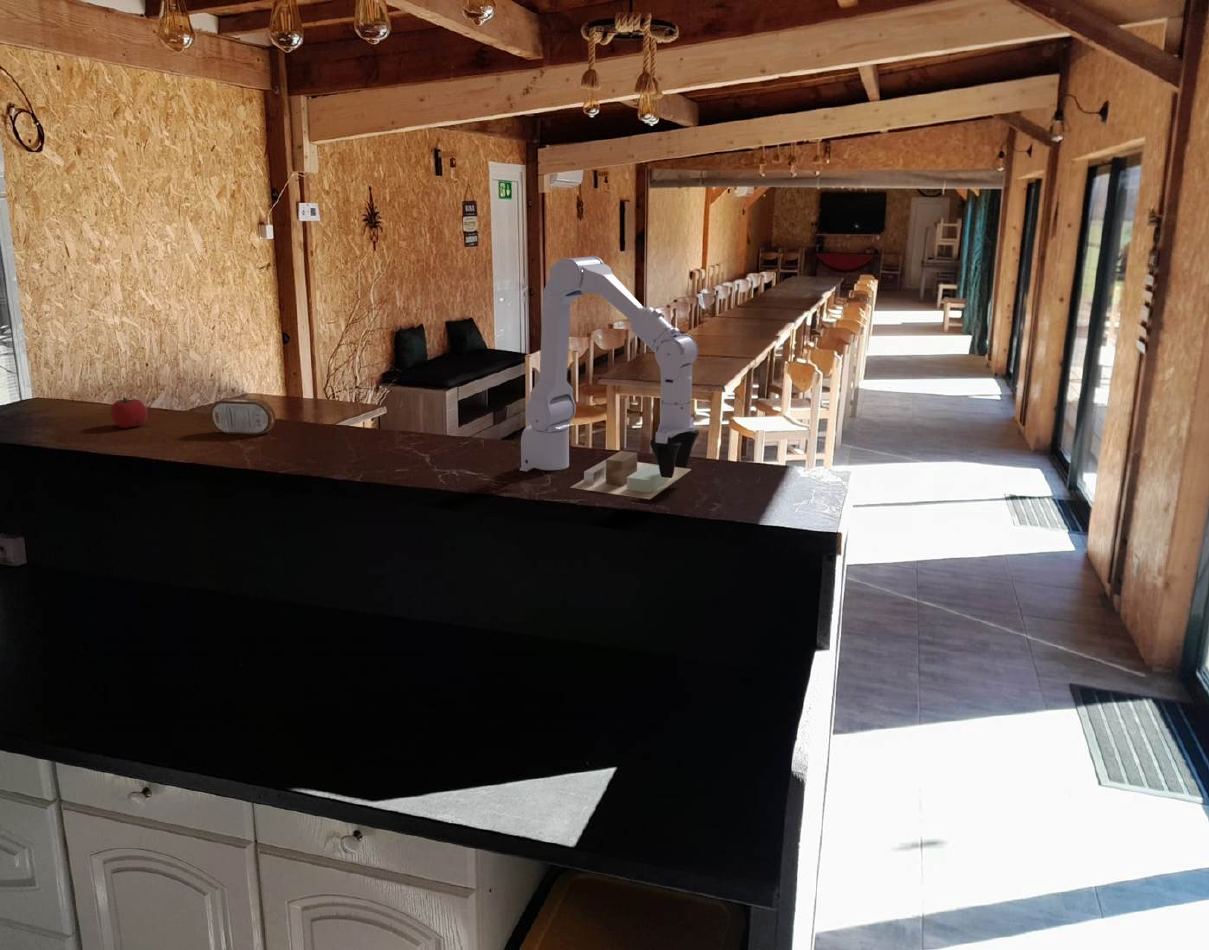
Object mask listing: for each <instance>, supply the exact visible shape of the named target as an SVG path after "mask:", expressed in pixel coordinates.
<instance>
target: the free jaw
mask: <svg viewBox="0 0 1209 950" xmlns="http://www.w3.org/2000/svg"><path fill="white" fill-rule="evenodd" d="M650 464H651V463H648V464H647V465H646V466H644V467H642V468H641V469H639V470H638V471H636V472H634V473H633V474H631V475H630V476H628V477H627V490H631V491H638V492H645V493H650V492H652V491H653V490H654V489H656V488H657V487H659V486H660V485H662V484H663V483H664V482H666V481H667V480H669V478H665V477H661V474H660V470H659V466H657V465H658V464H655V465H650Z"/></svg>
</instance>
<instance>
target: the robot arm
mask: <svg viewBox="0 0 1209 950" xmlns="http://www.w3.org/2000/svg"><path fill="white" fill-rule="evenodd" d="M549 269H550V270H549V279H548V280H547V283H546V284H545V287H544V289H543V292H542V311H541V332H540V333H541V334H540V336H541V337H540V358H539V359H540V360H539V361H540V362H539V380H538V381H537V383H536V384H535V385H534V387H533V388H532V389H531V390H530V392H529V393H530V394H529V401H528V404H527V405H526V408H525V418H526V420H527V423H528V424H529V425H527V426H526V427H525V428H524V429H523V431H522V434H521V438H520V462H521V463H520V464H521V467H519V471H520V472H521V471H522V472H528V471H531V470H532V469H534V468H535V469H538V470H542V471H561V470H564V469H567V468H569V467H570V441H569V440H570V435H569V434H570V433H569V432H570V426H571V420H573V418H574V417H575V415H576V412H577V405H576V402H575V399H574V389H573V387H572V386H571V384H570V383H569V381H568V365H569V362H568V361H569V343H570V342H569V341H570V323H571V307H572V306H571V305H572V304H573V303H574V301H576V300H577V299H579V298H580V297H581V296H583V294H592V295H593V294H594V295H600V296H601V297H602V298H604V299H605V300H606V301H607V302H608V303H609V304H610V305H612V306H613V307H614V308H615V309H617V311H619V312H620V313H621V314H622V315H623V316H624V317H626V318H627V319H628V320H629V321H630V329H631V332H633V333H634V334H635V336H637V337H638V339H640V340H641V341H642V342H643V343H644V345H646V346H647V347H648V348H649V349H650V350H651V351H652V352H653V353H654V359H655V361H656V364H657V365H658V366H659V369H660V370H659V371H660V374H659V375H660V401H659V402H660V406H659V407H660V410H659V413H660V414H659V416H660V418H659V424H658V427H657V428H658V429H657V431H656V432H655V437H654V438H652V439H650V440H649V443H650V448H651V449H652V451H653V453H654V455H655V457H656V460H657V461H656V462H657V465H659V470H660V474H661V477H665V478H672V477H673V474H674V469H675V467H678V468H686V469H687V468H688V465H689V461H690V458H691V453H692V449H693V447H694V444H695V442H696V439H697V437H699V434H700V431H699V430H698V429H697V426H698V425H694V422H695V421H694V417H693V416H692V396H693V394H692V391H693V388H692V387H693V363H695V362H696V361H697V359H698V356H699V347H698V346H699V345H698V344H697V342H696V341H695V339H694V338H693V336H692V335H690V334H689V333H688V334H687V333H681V331H680V329H679V328H678V327H674V326H673V325H672V324H671V323H670V322H669V321H667V319H665V317H663V316H662V315H663V311H661V309H660V308H654V307H651V306H647V307H644V306H643V305H642V304H641V302H639V301H638V300H637V299H636V297H634V295H632V293H631V292H630V291H629V289H627V288H626V286H625V285H623V283H622V282H621V281H620V280H619V279H618V278H617V277H616V276H615V275H614V273H613V271H612V269H611V267H610V266H609V265H607V264H605V262H604V261H603V260H602V259H601V258H599V257H598V256H595V255H588V256H583V257H572V258H571V257H564V258H561V259H559V260H558V261H557V262H555V263H554V264H553V265H552V266H550V268H549Z"/></svg>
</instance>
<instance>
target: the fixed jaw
mask: <svg viewBox="0 0 1209 950" xmlns="http://www.w3.org/2000/svg"><path fill="white" fill-rule="evenodd" d="M605 478H606V459H604V460H603V461H601V462H599V463H597V464H595V465H594V466H592V467H590V468H588V469H586V470H585V471H584V472H583V480H584V484H586V485H593V486H594V485H595V484H597V483H599V482H600V481H602V480H604V479H605Z"/></svg>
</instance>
